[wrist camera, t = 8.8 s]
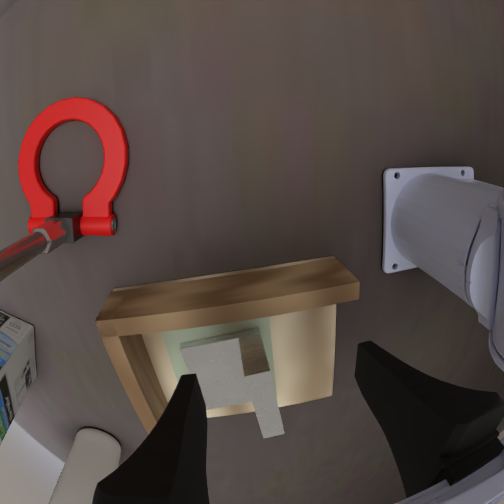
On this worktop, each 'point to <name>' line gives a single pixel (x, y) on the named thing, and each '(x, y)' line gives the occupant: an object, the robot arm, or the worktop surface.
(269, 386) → the bracket
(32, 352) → the light bulb box
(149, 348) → the board
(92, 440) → the drinking glass
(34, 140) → the tow hook
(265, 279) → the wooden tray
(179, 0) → the worktop surface
